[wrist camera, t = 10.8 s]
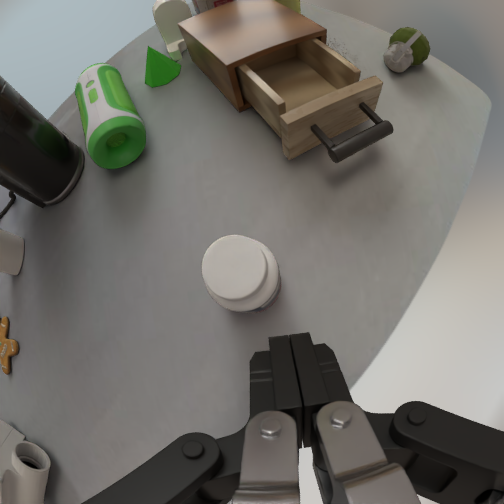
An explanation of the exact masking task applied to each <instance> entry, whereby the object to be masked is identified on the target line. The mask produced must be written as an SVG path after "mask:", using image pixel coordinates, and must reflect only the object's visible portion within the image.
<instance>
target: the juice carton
mask: <svg viewBox="0 0 504 504" xmlns="http://www.w3.org/2000/svg"><path fill="white" fill-rule="evenodd" d="M192 1H193V4H194V7H195V10H196V13H197V14H200V13H203V12H205V11H208V10H210V9H213V8H216V7H218V6H221V5H224V4H227V3H230V2H232V1H235V0H192Z"/></svg>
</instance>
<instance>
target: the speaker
mask: <svg viewBox="0 0 504 504" xmlns="http://www.w3.org/2000/svg"><path fill="white" fill-rule="evenodd" d="M75 95H76V98H77V100H78V106H79V111H80V116H81V121H82V126H83V130H84V135H85V144H86V149H87V151H88V153H89V155H90V157H91V158H92V159H93V160H94V162H95V163H96V164H97V165H98V166H100V167H102V168H106V169H116V168H121V167H124V166H126V165H128V164H130V163H131V162H133V161H134V160H135V159H137V158H138V157H139V155H140V154H141V153H142V151H143V150H144V147H145V144H146V131H145V125H144V122H143V120H142V119H141V118H140V117H139V115H138V113H137V111H136V109H135V107H134V105H133V103H132V100H131V98H130V96H129V94H128V92H127V90H126V88H125V86H124V83H123V81H122V78H121V75H120V73H119V71H118V70H117V69H116V68H114V67H113V66H111V65H109V64H106V63H98V64H94V65H91V66H90V67H88V68H87V69H85V70H84V71H83V72H82V73H81V75H80V77H79V78H78V81H77V83H76V88H75Z"/></svg>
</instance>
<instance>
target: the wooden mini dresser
mask: <svg viewBox="0 0 504 504" xmlns="http://www.w3.org/2000/svg"><path fill="white" fill-rule="evenodd" d="M178 27H179V29H180V32H181V34H182V36H183V39H184V41H185V44H186V46H187V49H188V51H189V54H190V56H191V59H192V61H193V62H194V63H195V64H196V65H197V66H198V67H199V68H200V69H201V70H202V71H203V72H204V74H205V75H206V76H207V77H208V78H209V79H210V80H211V81H212V82H213V83H214V84H215V85H216V87H217V88H218V89H219V90H220V91H221V92H222V93H223V94H224V95H225V97H226V98H227V99H228V100H229V101H230V102H231V103H232V104H233V106H234V107H235V108H236V109H237V110H238V111H239V112H241V111H243V110H245V109H247V108H249V107H251V106H252V105H251V104H250V103H249V102H248V101H247V100H246V99H245V98H244V97H243V96H242V95H241V92H240V88H239V84H238V80H237V76H236V72H235V67H237V66H240V65H242V64H244V63H247V62H249V61H251V60H254V59H256V58H259V57H261V56H264V55H266V54H269V53H271V52H274V51H277V50H279V49H282V48H285V47H288V46H291V45H294V44H297V43H300V42H303V41H306V40H309V39H312V38H317V39H318V40H320V41H321V42H323V43H324V44H326V38H327V35H326V34H327V29H325V28H323V27H322V26H320V25H319V24H317V23H315V22H313V21H312V20H310V19H308V18H307V17H305V16H303V15H301V14H299V13H298V12H296V11H294V10H292V9H290V8H288V7H286V6H284V5H282V4H280V3H278V2H276V1H274V0H235V1H232V2H230V3H227V4H224V5H221V6H218V7H216V8H213V9H210V10H208V11H205V12H203V13H200V14H198V15H195V16H193V17H191V18H189V19H186V20H184V21H182V22H180V23H178Z"/></svg>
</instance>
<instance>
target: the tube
mask: <svg viewBox="0 0 504 504" xmlns="http://www.w3.org/2000/svg"><path fill="white" fill-rule="evenodd" d="M274 1H276V2H278V3H280V4H282V5H284V6H286V7H288V8H290V9H292V10H294V11H296V12H298V13H299V14H301V12H300V0H274Z"/></svg>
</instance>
